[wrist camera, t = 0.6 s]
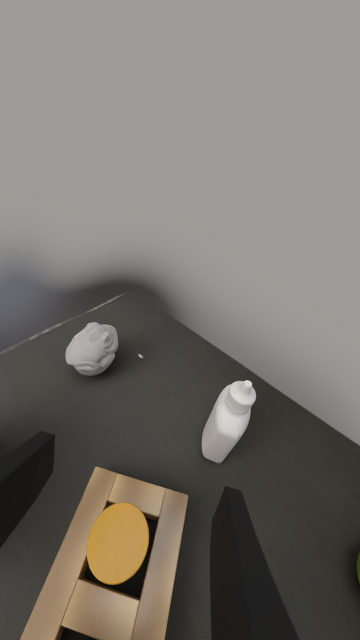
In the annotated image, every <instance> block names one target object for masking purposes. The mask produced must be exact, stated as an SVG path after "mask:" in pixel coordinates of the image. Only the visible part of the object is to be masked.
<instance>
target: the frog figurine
mask: <svg viewBox="0 0 360 640" xmlns="http://www.w3.org/2000/svg"><path fill="white" fill-rule="evenodd" d="M117 348H118V337H117V332H116V330H115V328H114V327H112V326H111V325H103V324H102V326H101V325H100V324H98V323H96V322H92V323H89V324H87V326H86V328H84V329H83V330H82V331H81V332H79V333H78V334H76V335H75V336H74V338H73V340H72V341H71V343H70V344H69V346H68V348H67V350H66V361H67V363H68V364H70V365H73V366H74V368H75V369H76V370H77V371H78V372H79V373H81V374H83V375H87V376H94V375H98V374H100V373H102V372H103V371H105V370H106V369H107V368H108V367H109V365H110V364H111V362H112V361H113V360H114V358H115V354H114V352H116V351H117Z"/></svg>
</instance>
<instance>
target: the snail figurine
mask: <svg viewBox="0 0 360 640" xmlns="http://www.w3.org/2000/svg"><path fill="white" fill-rule="evenodd" d="M357 576H358V580H359V583H360V553H359V555H358V558H357Z"/></svg>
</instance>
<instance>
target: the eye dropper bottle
mask: <svg viewBox="0 0 360 640" xmlns="http://www.w3.org/2000/svg"><path fill="white" fill-rule="evenodd" d="M255 400H256V393H255V390H254V389H253V387H252V383H251V382H250V381H247V380H246V381H244V382H243V381H237V382H234V383H232V385H228V386H227V387H225V388H224V390H223V391H222V392H221V394H220V395H219V397H218V399H217V401H216V403H215V406H214V408H213V410H212V412H211V414H210V416H209V419H208V421H207V423H206V425H205V428H204V431H203V435H202V453H203V456H204V457H205V458H207V459H209V460H211V461H214V462H216V463H221V462H222V461H223V460H224V459H225V458H226V456H227V455H228V454H229V452H230V451H231V450H232V448H233V447H234V446H235V445H236V443H237V442H238V440H239V439H240V438H241V436H242V435H243V433H244V431H245V429H246V427H247V425H248V422H249V419H250V412H251V406H252V405H253V403H254V402H255Z"/></svg>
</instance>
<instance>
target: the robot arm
mask: <svg viewBox="0 0 360 640" xmlns="http://www.w3.org/2000/svg"><path fill="white" fill-rule="evenodd" d="M54 445H55V435H53V434H49V433H46V432H43V431H41V432H39V433H37V434H36V435H34V436H33V437H31V438H30V439H28V440H27V441H25V442H24V443H22V444H21V445H19V446H18V447H16V448H15V449H13V450H12V451H10V452H9V453H7V454H6V455H4V456H3V457H1V458H0V548H1V546H2V545H3V544H4V542H5V541H6V539H7V538H8V537H9V535H10V534H11V533H12V531H13V530H14V529H15V527H16V526H17V525H18V523H19V522H20V521H21V519H22V518H23V516H24V515H25V514H26V512H27V511H28V510H29V508H30V507H31V505H32V504H33V503H34V501H35V500H36V498H37V497H38V495H39V494H40V492H41V490H42V489H43V487H44V485H45V484H46V482H47V480H48V479H49V477H50V475H51V474H52V472H53V462H54ZM210 592H211V640H300V639H299V637H298V635H297V632H296V630H295V628H294V626H293V624H292V621H291V619H290V617H289V615H288V612H287V610H286V608H285V606H284V603H283V601H282V599H281V596H280V594H279V592H278V589H277V587H276V584H275V582H274V579H273V577H272V575H271V572H270V570H269V567H268V564H267V562H266V559H265V557H264V554H263V552H262V549H261V546H260V544H259V541H258V538H257V535H256V533H255V530H254V527H253V524H252V521H251V518H250V515H249V512H248V509H247V506H246V503H245V500H244V497H243V494H242V492H241V491H240V490H237V489H233V488H230V487H227V486H225V489H224V491H223V494H222V496H221V499H220V501H219V504H218V506H217V509H216V512H215V514H214V517H213V519H212V528H211V543H210Z"/></svg>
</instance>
